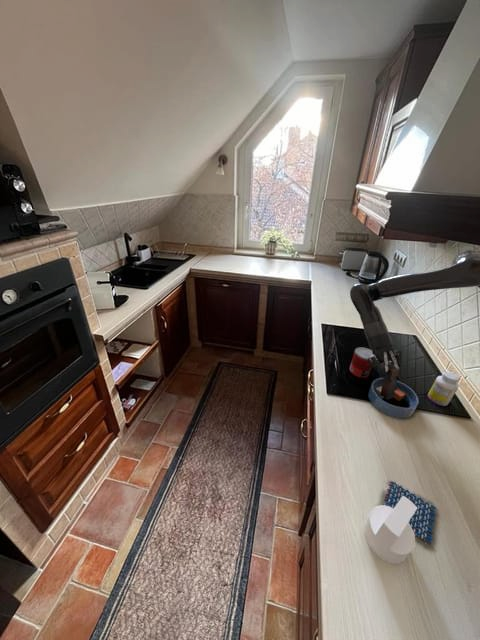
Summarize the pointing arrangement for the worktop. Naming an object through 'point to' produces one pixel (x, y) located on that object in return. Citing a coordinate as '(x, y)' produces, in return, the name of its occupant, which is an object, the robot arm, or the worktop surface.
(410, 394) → the bowl
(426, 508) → the woven mat
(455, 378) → the supplement bottle
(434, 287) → the robot arm
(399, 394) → the block
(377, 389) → the block
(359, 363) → the canned food
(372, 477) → the worktop surface
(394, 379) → the brown rectangular block
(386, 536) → the base with upright slab
